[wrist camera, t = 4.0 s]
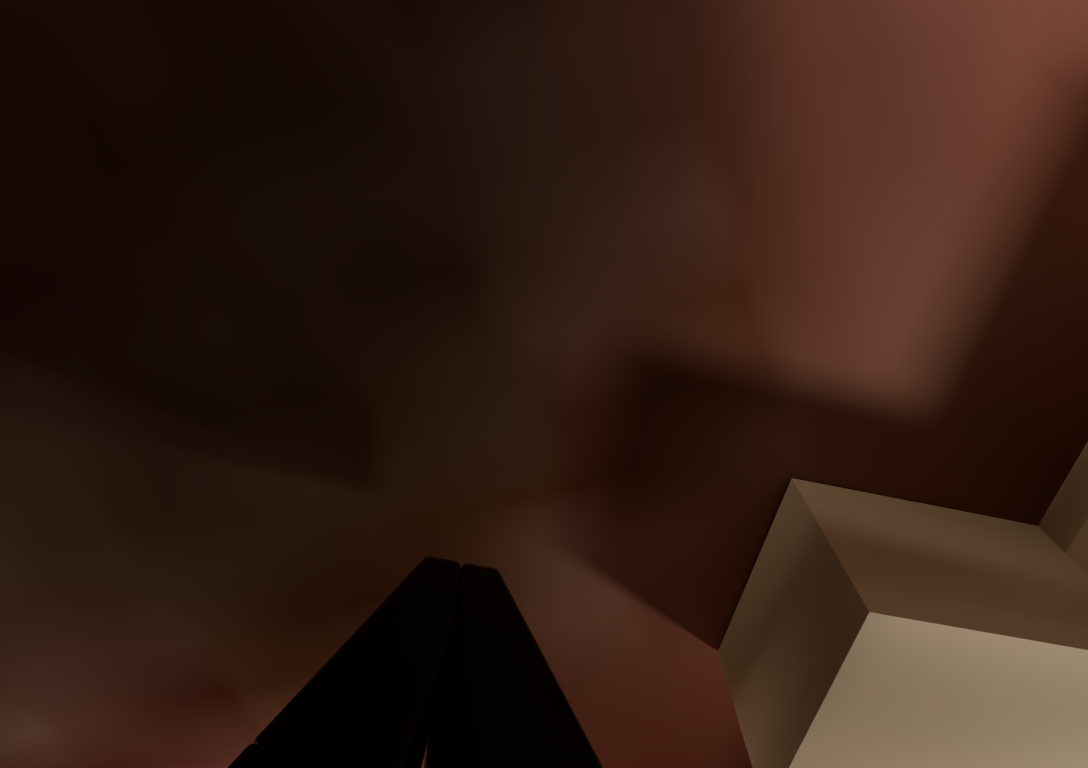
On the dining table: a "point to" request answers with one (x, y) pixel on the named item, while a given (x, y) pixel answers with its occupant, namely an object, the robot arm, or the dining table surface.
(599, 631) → the dining table surface
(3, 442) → the dining table surface
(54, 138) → the dining table surface
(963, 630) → the beige flat piece
